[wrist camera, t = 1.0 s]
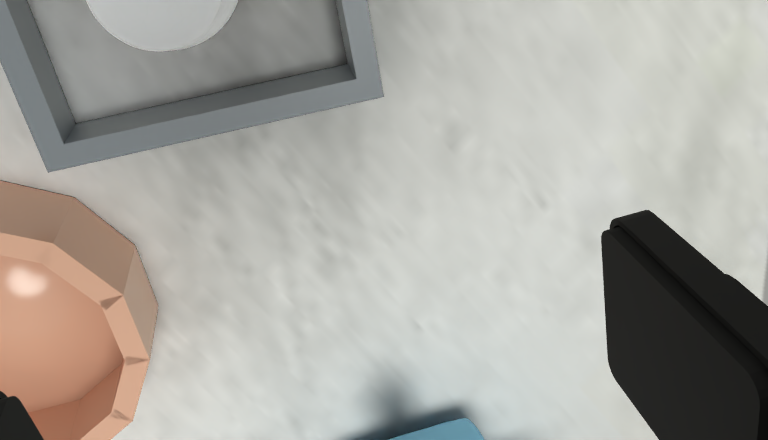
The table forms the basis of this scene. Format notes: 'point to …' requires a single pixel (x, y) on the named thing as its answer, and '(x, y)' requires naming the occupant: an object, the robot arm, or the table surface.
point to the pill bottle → (162, 21)
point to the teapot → (445, 432)
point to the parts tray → (183, 118)
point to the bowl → (71, 316)
